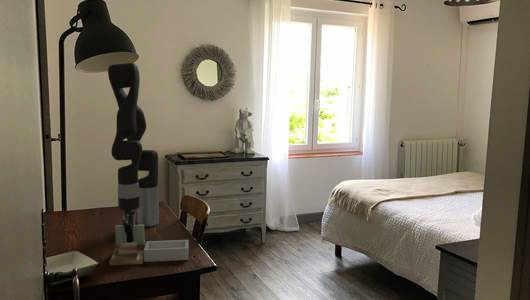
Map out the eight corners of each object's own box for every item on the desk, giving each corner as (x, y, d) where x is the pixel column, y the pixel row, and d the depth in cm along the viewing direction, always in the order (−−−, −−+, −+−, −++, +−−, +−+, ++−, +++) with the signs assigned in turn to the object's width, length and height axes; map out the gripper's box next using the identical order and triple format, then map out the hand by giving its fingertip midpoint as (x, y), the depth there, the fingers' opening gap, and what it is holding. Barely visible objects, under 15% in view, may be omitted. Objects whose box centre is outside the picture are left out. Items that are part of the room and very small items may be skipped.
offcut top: (119, 250, 164) (118, 243, 164) (136, 249, 166) (136, 242, 165) (118, 254, 161) (118, 247, 160) (136, 252, 162) (136, 245, 162)
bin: (147, 252, 174) (146, 241, 173) (188, 250, 176) (188, 239, 175) (144, 261, 165) (143, 250, 164) (188, 259, 167) (187, 248, 166)
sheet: (117, 248, 173) (116, 225, 172) (144, 247, 174) (144, 224, 173) (116, 250, 171) (115, 226, 170) (144, 249, 173) (143, 225, 172)
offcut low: (117, 257, 165) (117, 250, 165) (137, 256, 166) (137, 249, 166) (115, 260, 161) (115, 253, 161) (136, 259, 162) (136, 253, 162)
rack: (116, 251, 174) (116, 242, 174) (146, 250, 176) (146, 241, 176) (109, 265, 161) (109, 255, 161) (142, 263, 163) (142, 254, 162)
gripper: (121, 191, 176) (122, 235, 179) (114, 200, 163) (116, 248, 165) (141, 190, 177) (143, 235, 180) (136, 199, 164) (138, 247, 166)
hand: (130, 241), depth 173 cm, fingers closed on sheet, 1 cm apart
